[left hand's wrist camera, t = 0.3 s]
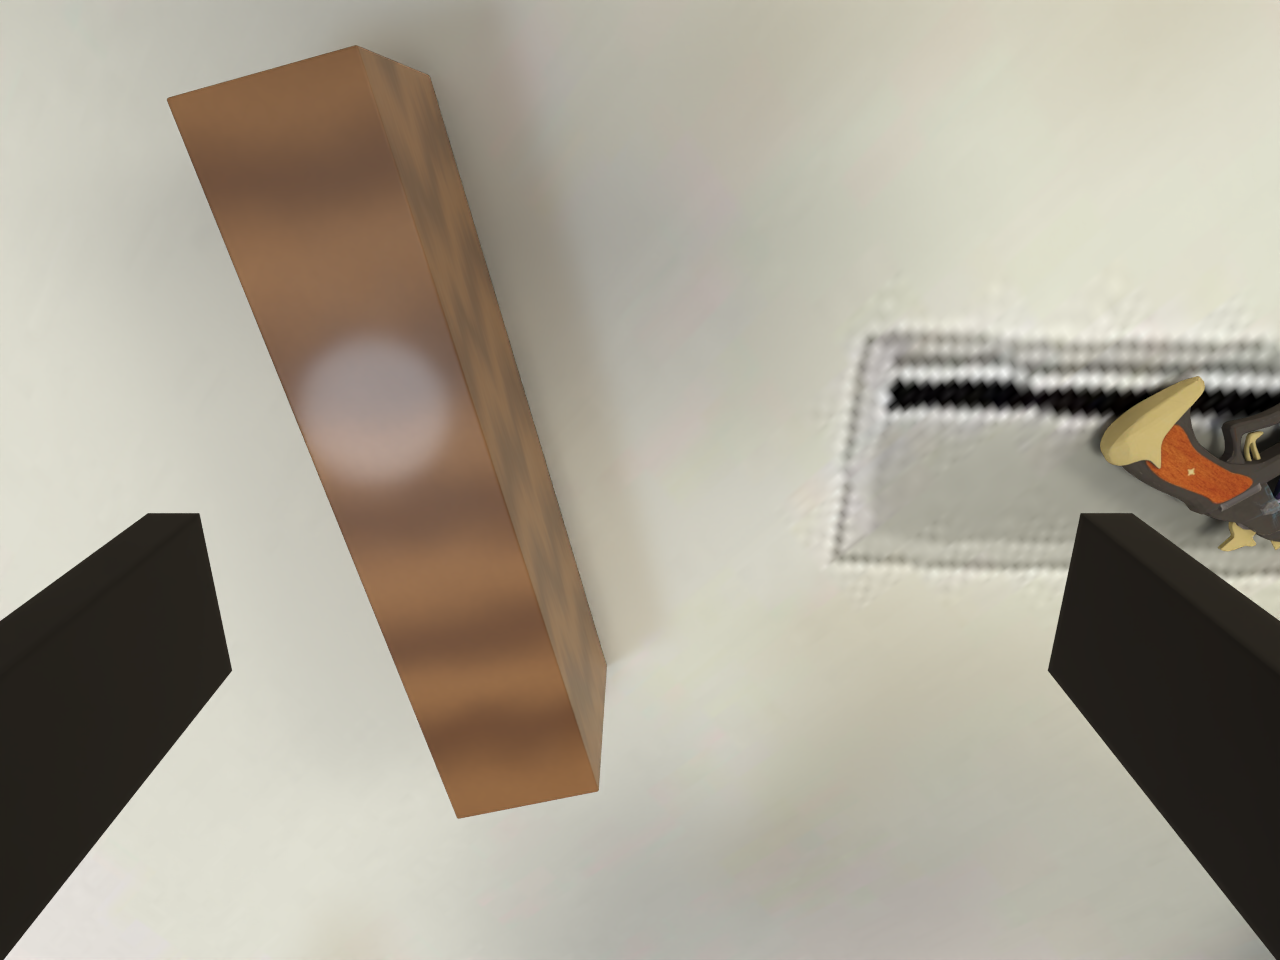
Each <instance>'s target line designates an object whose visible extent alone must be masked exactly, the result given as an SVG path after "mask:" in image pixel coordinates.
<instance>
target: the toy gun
mask: <svg viewBox="0 0 1280 960" xmlns="http://www.w3.org/2000/svg"><path fill="white" fill-rule="evenodd" d="M1204 388H1205V385H1204V381H1203V380H1202V379H1201V378H1200V377H1199V376H1197V377H1193V378H1189V379H1186V380H1182V381H1180V382H1178V383H1176V384H1174V385H1172V386H1170V387H1167V388H1165V389H1164V390H1162V391H1160V392H1158V393H1156V394H1154V395H1153V396H1151V397H1149V398H1147V399H1145V400H1143V401H1142V402H1140V403H1138V404H1136V405H1135V406H1133V407H1132V408H1130V409H1129V410H1128V411H1126V412H1125V413H1124V414H1122V415H1121V416H1120V417H1119V418H1118V419H1116V420H1115V421H1114V422H1113V423H1112V424H1111V425H1110V426H1109V427H1108V428H1107V430H1106V431H1105V433H1104V435H1103V437H1102V440H1101V443H1100V448H1101V452H1102V453H1103V455H1104V457H1105V459H1106V460H1107V461H1108V462H1109V463H1111V464H1114V465H1118V466H1122V467H1123V468H1125V469H1126V470H1127V471H1128V472H1130V473H1131V474H1132V475H1134V476H1135V477H1136V478H1138V479H1139V480H1141V481H1143V482H1144V483H1146V484H1148V485H1150V486H1151V487H1153V488H1155V489H1157V490H1160V491H1162V492H1164V493H1167V494H1169V495H1171V496H1173V497H1176V498H1178V499H1180V500H1181V501H1183V502H1184V503H1185V504H1186V505H1187V506H1188V508H1189V509H1190V510H1192V511H1194V512H1197V513H1199V514H1205V515H1207V516H1210V517H1212V518H1215V519H1218V520H1222V521H1229V530H1230V533H1231V536H1230V537H1229V538H1228V539H1227V540H1226V541H1224V542H1223V543H1222V544H1221V545H1220V546H1219V547H1218V548H1219V549H1221V550H1223V551H1231V550H1235V549H1238V548H1240V547H1243V546H1255V545H1256V543H1255V541H1254V540H1253V536H1254V535H1255V534H1257V535H1259V536H1261V537H1263V538H1265V539H1268V540H1271V542H1272V544H1273V546H1274V548H1275V550H1277V549H1278V548H1280V479H1279V481H1278V483H1277V486H1276V488H1275V490H1274V492H1273V494H1272V492H1271V490H1270V488H1269V486H1268V484H1267V482H1268V481H1270V480H1272V479H1274V478H1275V477H1277V476H1279V475H1280V442H1279V443H1277V444H1275V445H1273V446H1271V447H1270V448H1268V449H1266V450H1264V451H1262V452H1260V453H1258V450H1257V447H1256V443H1255V442H1256V440H1257V438H1259V437H1260V436H1261V435H1262V434H1263V433H1264V432H1261V431H1255V432H1251V431H1254V430H1258V429H1262V428H1266V427H1270V426H1272V425H1275V424H1278V423H1280V403H1279V404H1277V405H1275V406H1274V407H1272V408H1270V409H1268V410H1266V411H1264V412H1261V413H1259V414H1256V415H1253V416H1249V417H1246V418H1241V419H1236V420H1232V421H1228V422H1225V423H1224V424H1223V425H1222V431H1223V435H1224V440H1225V451H1224V454H1223V455H1222V456H1221V457H1220V458H1219V459H1218V458H1217V457H1215V456H1214V455H1212V454H1211V453H1210V452H1208V451H1207V450H1206V449H1205V448H1203V447H1202V446H1201V445H1200V444H1199V443H1198V441H1197V439H1196V437H1195V435H1194V432H1193V429H1192V425H1191V419H1190V408H1191V406H1192V405H1193V404H1194V402H1195V401H1196V400H1197V399H1198V398H1199V397H1200V396H1201V394H1202V393H1203V391H1204ZM1248 432H1250V433H1248ZM1245 433H1248V434H1247V436H1246V440H1245V445H1244V456H1245V459H1246V460H1244V458H1243V455H1242V453H1241V449H1240V445H1241V438H1242V435H1243V434H1245ZM1249 446H1250V448H1251V452H1252V455H1253V457H1250V453H1249Z"/></svg>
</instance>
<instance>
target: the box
mask: <svg viewBox="0 0 1280 960" xmlns="http://www.w3.org/2000/svg"><path fill="white" fill-rule="evenodd" d="M167 101H168V104H169V106H170V109H171V111H172V114H173V116H174V119H175V121H176V124H177V126H178V129H179V131H180V134H181V136H182V139H183V141H184V144H185V146H186V148H187V151H188V153H189V156H190V158H191V161H192V163H193V166H194V168H195V171H196V173H197V176H198V178H199V181H200V183H201V186H202V188H203V191H204V193H205V195H206V198H207V200H208V203H209V205H210V208H211V210H212V213H213V215H214V218H215V220H216V223H217V225H218V228H219V230H220V233H221V235H222V238H223V240H224V242H225V245H226V247H227V250H228V252H229V255H230V257H231V260H232V262H233V265H234V267H235V270H236V272H237V275H238V277H239V280H240V282H241V285H242V287H243V289H244V292H245V294H246V297H247V299H248V302H249V304H250V307H251V309H252V312H253V314H254V317H255V319H256V322H257V324H258V327H259V329H260V331H261V334H262V336H263V339H264V341H265V344H266V346H267V349H268V351H269V354H270V356H271V359H272V361H273V364H274V366H275V369H276V371H277V374H278V376H279V378H280V381H281V383H282V386H283V388H284V391H285V393H286V396H287V398H288V401H289V403H290V406H291V408H292V411H293V413H294V416H295V418H296V421H297V423H298V425H299V428H300V430H301V433H302V435H303V438H304V440H305V443H306V445H307V448H308V450H309V453H310V455H311V458H312V460H313V463H314V465H315V468H316V470H317V472H318V475H319V477H320V480H321V482H322V485H323V487H324V490H325V492H326V495H327V497H328V500H329V502H330V505H331V507H332V510H333V512H334V515H335V517H336V519H337V522H338V524H339V527H340V529H341V532H342V534H343V537H344V539H345V542H346V544H347V547H348V549H349V552H350V554H351V557H352V559H353V561H354V564H355V566H356V569H357V571H358V574H359V576H360V579H361V581H362V584H363V586H364V589H365V591H366V594H367V596H368V599H369V601H370V604H371V606H372V608H373V611H374V613H375V616H376V618H377V621H378V623H379V626H380V628H381V631H382V633H383V636H384V638H385V641H386V643H387V646H388V648H389V651H390V653H391V655H392V658H393V660H394V663H395V665H396V668H397V670H398V673H399V675H400V678H401V680H402V683H403V685H404V688H405V690H406V693H407V695H408V698H409V700H410V702H411V705H412V707H413V710H414V712H415V715H416V717H417V720H418V722H419V725H420V727H421V730H422V732H423V735H424V737H425V740H426V742H427V745H428V747H429V749H430V752H431V754H432V757H433V759H434V762H435V764H436V767H437V769H438V772H439V774H440V777H441V779H442V782H443V784H444V787H445V789H446V792H447V794H448V796H449V799H450V801H451V804H452V806H453V809H454V811H455V814H456V816H457V818H458V819H459V818H464V817H470V816H475V815H480V814H485V813H490V812H495V811H500V810H505V809H510V808H515V807H521V806H526V805H531V804H536V803H541V802H546V801H551V800H556V799H561V798H566V797H572V796H577V795H582V794H587V793H592V792H597V791H598V790H599V778H600V763H601V748H602V732H603V717H604V702H605V686H606V671H607V665H606V662H605V659H604V655H603V652H602V649H601V645H600V642H599V639H598V635H597V632H596V629H595V625H594V622H593V619H592V615H591V612H590V609H589V605H588V602H587V599H586V595H585V592H584V589H583V585H582V582H581V579H580V575H579V572H578V569H577V565H576V562H575V559H574V555H573V552H572V549H571V545H570V542H569V539H568V535H567V532H566V529H565V525H564V522H563V519H562V515H561V512H560V509H559V505H558V502H557V499H556V495H555V492H554V489H553V485H552V482H551V479H550V475H549V472H548V469H547V465H546V462H545V459H544V455H543V452H542V449H541V445H540V442H539V439H538V435H537V432H536V429H535V425H534V422H533V419H532V415H531V412H530V409H529V405H528V402H527V399H526V395H525V392H524V389H523V385H522V382H521V379H520V375H519V372H518V369H517V365H516V362H515V359H514V355H513V352H512V349H511V345H510V342H509V339H508V335H507V332H506V329H505V325H504V322H503V319H502V315H501V312H500V309H499V305H498V302H497V299H496V295H495V292H494V289H493V285H492V282H491V279H490V275H489V272H488V269H487V265H486V262H485V259H484V255H483V252H482V249H481V245H480V242H479V239H478V235H477V232H476V229H475V225H474V222H473V219H472V215H471V212H470V209H469V205H468V202H467V199H466V195H465V192H464V189H463V185H462V182H461V179H460V175H459V172H458V169H457V165H456V162H455V159H454V155H453V152H452V149H451V145H450V142H449V139H448V135H447V132H446V129H445V125H444V122H443V119H442V115H441V112H440V109H439V105H438V102H437V99H436V95H435V92H434V89H433V85H432V82H431V79H430V76H429V75H427V74H425V73H422V72H420V71H417V70H415V69H413V68H410V67H408V66H405V65H403V64H400V63H398V62H396V61H393V60H391V59H388V58H386V57H384V56H381V55H379V54H376V53H374V52H371V51H369V50H367V49H364V48H362V47H359V46H357V45H355V46H351V47H347V48H344V49H340V50H337V51H333V52H330V53H326V54H322V55H319V56H315V57H312V58H308V59H305V60H301V61H297V62H294V63H290V64H287V65H283V66H280V67H276V68H272V69H269V70H265V71H262V72H258V73H255V74H251V75H247V76H244V77H240V78H237V79H233V80H230V81H226V82H222V83H219V84H215V85H212V86H208V87H205V88H201V89H197V90H194V91H190V92H187V93H183V94H180V95H176V96H172V97H169V98H168V99H167Z"/></svg>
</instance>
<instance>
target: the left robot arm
mask: <svg viewBox="0 0 1280 960" xmlns="http://www.w3.org/2000/svg"><path fill="white" fill-rule="evenodd" d="M231 671H232V668H231V663H230V658H229V654H228V649H227V644H226V639H225V634H224V630H223V625H222V620H221V615H220V610H219V605H218V601H217V596H216V591H215V586H214V581H213V577H212V572H211V567H210V562H209V557H208V553H207V548H206V543H205V538H204V533H203V528H202V524H201V519H200V514H199V513H148V514H146V515H145V516H144V517H142V518H141V519H140V520H138V521H137V522H135V523H134V524H133V525H131V526H130V527H129V528H127V529H126V530H124V531H123V532H122V533H120V534H119V535H118V536H116V537H115V538H113V539H112V540H111V541H109V542H108V543H107V544H105V545H104V546H103V547H101V548H100V549H98V550H97V551H96V552H94V553H93V554H92V555H90V556H89V557H87V558H86V559H85V560H83V561H82V562H81V563H79V564H78V565H76V566H75V567H74V568H72V569H71V570H70V571H68V572H67V573H65V574H64V575H63V576H61V577H60V578H59V579H57V580H56V581H55V582H53V583H52V584H50V585H49V586H48V587H46V588H45V589H44V590H42V591H41V592H39V593H38V594H37V595H35V596H34V597H33V598H31V599H30V600H28V601H27V602H26V603H24V604H23V605H22V606H20V607H19V608H18V609H16V610H15V611H13V612H12V613H11V614H9V615H8V616H7V617H5V618H4V619H2V620H1V621H0V960H4V959H5V957H6V956H7V955H8V954H9V952H10V951H11V950H12V948H13V947H14V946H15V945H16V943H17V942H18V941H19V940H20V938H21V937H22V936H23V935H24V933H25V932H26V931H27V929H28V928H29V927H30V926H31V924H32V923H33V922H34V921H35V919H36V918H37V917H38V916H39V914H40V913H41V912H42V910H43V909H44V908H45V907H46V905H47V904H48V903H49V902H50V900H51V899H52V898H53V897H54V895H55V894H56V893H57V892H58V890H59V889H60V888H61V886H62V885H63V884H64V883H65V881H66V880H67V879H68V878H69V876H70V875H71V874H72V873H73V871H74V870H75V869H76V867H77V866H78V865H79V864H80V862H81V861H82V860H83V859H84V857H85V856H86V855H87V854H88V852H89V851H90V850H91V848H92V847H93V846H94V845H95V843H96V842H97V841H98V840H99V838H100V837H101V836H102V835H103V833H104V832H105V831H106V829H107V828H108V827H109V826H110V824H111V823H112V822H113V821H114V819H115V818H116V817H117V816H118V814H119V813H120V812H121V811H122V809H123V808H124V807H125V805H126V804H127V803H128V802H129V800H130V799H131V798H132V797H133V795H134V794H135V793H136V792H137V790H138V789H139V788H140V786H141V785H142V784H143V783H144V781H145V780H146V779H147V778H148V776H149V775H150V774H151V773H152V771H153V770H154V769H155V767H156V766H157V765H158V764H159V762H160V761H161V760H162V759H163V757H164V756H165V755H166V754H167V752H168V751H169V750H170V749H171V747H172V746H173V745H174V743H175V742H176V741H177V740H178V738H179V737H180V736H181V735H182V733H183V732H184V731H185V730H186V728H187V727H188V726H189V724H190V723H191V722H192V721H193V719H194V718H195V717H196V716H197V714H198V713H199V712H200V711H201V709H202V708H203V707H204V705H205V704H206V703H207V702H208V700H209V699H210V698H211V697H212V695H213V694H214V693H215V692H216V690H217V689H218V688H219V686H220V685H221V684H222V683H223V681H224V680H225V679H226V678H227V676H228V675H229V674H230V673H231ZM1048 671H1049V673H1050V674H1051V675H1052V676H1053V678H1054V679H1055V680H1056V681H1057V683H1058V684H1059V685H1060V686H1061V688H1062V689H1063V690H1064V692H1065V693H1066V694H1067V695H1068V697H1069V698H1070V699H1071V700H1072V702H1073V703H1074V704H1075V705H1076V707H1077V708H1078V709H1079V711H1080V712H1081V713H1082V714H1083V716H1084V717H1085V718H1086V719H1087V721H1088V722H1089V723H1090V724H1091V726H1092V727H1093V728H1094V730H1095V731H1096V732H1097V733H1098V735H1099V736H1100V737H1101V738H1102V740H1103V741H1104V742H1105V743H1106V745H1107V746H1108V747H1109V749H1110V750H1111V751H1112V752H1113V754H1114V755H1115V756H1116V757H1117V759H1118V760H1119V761H1120V762H1121V764H1122V765H1123V766H1124V767H1125V769H1126V770H1127V771H1128V773H1129V774H1130V775H1131V776H1132V778H1133V779H1134V780H1135V781H1136V783H1137V784H1138V785H1139V786H1140V788H1141V789H1142V790H1143V792H1144V793H1145V794H1146V795H1147V797H1148V798H1149V799H1150V800H1151V802H1152V803H1153V804H1154V805H1155V807H1156V808H1157V809H1158V811H1159V812H1160V813H1161V814H1162V816H1163V817H1164V818H1165V819H1166V821H1167V822H1168V823H1169V824H1170V826H1171V827H1172V828H1173V829H1174V831H1175V832H1176V833H1177V835H1178V836H1179V837H1180V838H1181V840H1182V841H1183V842H1184V843H1185V845H1186V846H1187V847H1188V848H1189V850H1190V851H1191V852H1192V854H1193V855H1194V856H1195V857H1196V859H1197V860H1198V861H1199V862H1200V864H1201V865H1202V866H1203V867H1204V869H1205V870H1206V871H1207V873H1208V874H1209V875H1210V876H1211V878H1212V879H1213V880H1214V881H1215V883H1216V884H1217V885H1218V886H1219V888H1220V889H1221V890H1222V892H1223V893H1224V894H1225V895H1226V897H1227V898H1228V899H1229V900H1230V902H1231V903H1232V904H1233V905H1234V907H1235V908H1236V909H1237V910H1238V912H1239V913H1240V914H1241V916H1242V917H1243V918H1244V919H1245V921H1246V922H1247V923H1248V924H1249V926H1250V927H1251V928H1252V929H1253V931H1254V932H1255V933H1256V935H1257V936H1258V937H1259V938H1260V940H1261V941H1262V942H1263V943H1264V945H1265V946H1266V947H1267V948H1268V950H1269V951H1270V952H1271V954H1272V955H1273V956H1274V957H1275V959H1276V960H1280V621H1279V620H1278V619H1276V618H1275V617H1273V616H1272V615H1271V614H1269V613H1268V612H1267V611H1265V610H1264V609H1262V608H1261V607H1260V606H1258V605H1257V604H1256V603H1254V602H1253V601H1252V600H1250V599H1249V598H1247V597H1246V596H1245V595H1243V594H1242V593H1241V592H1239V591H1238V590H1236V589H1235V588H1234V587H1232V586H1231V585H1230V584H1228V583H1227V582H1225V581H1224V580H1223V579H1221V578H1220V577H1219V576H1217V575H1216V574H1215V573H1213V572H1212V571H1210V570H1209V569H1208V568H1206V567H1205V566H1204V565H1202V564H1201V563H1199V562H1198V561H1197V560H1195V559H1194V558H1193V557H1191V556H1190V555H1188V554H1187V553H1186V552H1184V551H1183V550H1182V549H1180V548H1179V547H1177V546H1176V545H1175V544H1173V543H1172V542H1171V541H1169V540H1168V539H1167V538H1165V537H1164V536H1162V535H1161V534H1160V533H1158V532H1157V531H1156V530H1154V529H1153V528H1151V527H1150V526H1149V525H1147V524H1146V523H1145V522H1143V521H1142V520H1140V519H1139V518H1138V517H1136V516H1135V515H1134V514H1132V513H1081V514H1080V519H1079V524H1078V528H1077V533H1076V538H1075V543H1074V548H1073V553H1072V557H1071V562H1070V567H1069V572H1068V577H1067V581H1066V586H1065V591H1064V596H1063V601H1062V605H1061V610H1060V615H1059V620H1058V625H1057V630H1056V634H1055V639H1054V644H1053V649H1052V654H1051V658H1050V663H1049V668H1048Z"/></svg>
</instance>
